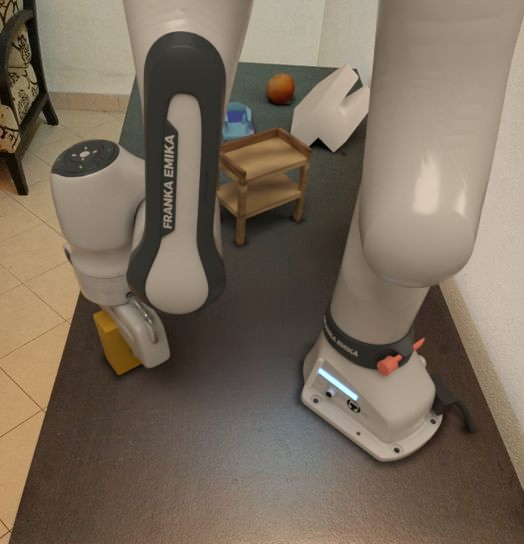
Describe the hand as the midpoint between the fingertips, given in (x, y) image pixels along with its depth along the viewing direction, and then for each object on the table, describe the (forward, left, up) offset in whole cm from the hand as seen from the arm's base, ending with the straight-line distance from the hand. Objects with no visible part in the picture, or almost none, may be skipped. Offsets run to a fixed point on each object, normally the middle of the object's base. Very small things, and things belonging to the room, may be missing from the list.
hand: (129, 341), depth 70 cm
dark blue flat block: (+54, -58, -4) cm, 79 cm away
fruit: (+59, -77, -4) cm, 97 cm away
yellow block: (0, 0, -4) cm, 4 cm away
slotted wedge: (+36, -75, -4) cm, 83 cm away
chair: (+40, -48, -4) cm, 63 cm away
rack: (+18, -38, -4) cm, 42 cm away
